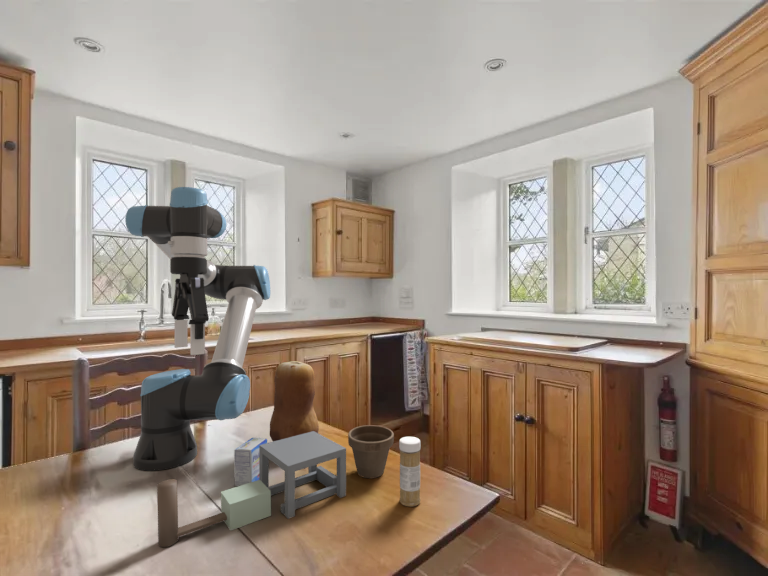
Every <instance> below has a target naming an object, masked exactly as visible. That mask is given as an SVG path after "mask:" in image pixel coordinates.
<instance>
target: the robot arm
mask: <svg viewBox="0 0 768 576" xmlns="http://www.w3.org/2000/svg"><path fill="white" fill-rule="evenodd" d="M207 195H208V194H207V192H206V191H204V190H203V189H201V188H197V187H190V186H179V187H178V186H177V187H174V188H173V189H172V190H171V191H170V198H169V199H170V200H169V205H148V204H145V205H136V206H131V207H129V208H128V209H127V211H126V215H125V226H126V228H127V229H126V230H127V231H128V233H130V234H131V235H133V236H135V237H142V238H144V237H148V239H149V240H151V241H152V242H153V243H154V244H155V246H157V247H158V248H159V250H160V251H162V252H163V253H164V254H165V256H167V257H168V259H170V260H169V262H170V265H169V267H170V269H169V271H170V273H171V274H172V275H179V278H175V281H174V282H175V287H174V294H173V295H174V296H173V304H172V312H171V316H172V317H173V319H174V348H187V347H188V344H189V343H188V326H189V325H190V327H189V329H190V331H189V333H190V335H189V336H190V339H189V340H190V341H189V342H190V344H189V345H190V351H189V352H190V356H196V355H197V356H198V355H205V354H206V348H205V347H206V345H205V344H206V341H205V340H206V322H209V320H210V319H209V312H208V305H207V300H206V299H207V298H206V296H209V297H211V298H213V299H216V300H226V301H227V303H228V305H227V308H226V310H225V311H226V312H225V315H224V318H223V321H222V325H221V328H220V332H219V335H218V339H217V342H216V345H215V347H214V353H213V355H212V359H211V361H210V362H208V363H207V364H205V365H204V367H203V368H202V372H201V374H200V375H198V374H197V375H192V372H191V370H190V369H189V368H180V369H179V368H178V369H172V370H166V371H162V372H158V373H154V374H151V375H148V376H147V377H145V378H144V379H143V380H142V382H141V388H140V395H139V396H140V429H141V430H140V436H139V438H138V442H137V444H136V448H135V450H134V452H133V457H132V459H133V460H132V462H133V463H132V466H133V467H134V468H135V469H137V470H140V471H147V472H148V471H151V472H152V471H162V470H169V469H173V468H177V467H178V466H182V465H184V464H187V463H188V462H191V461H192V460H194V459H195V458H196V457H197V455H198V445H197V442H196V439H195V436H194V433H193V430H192V428H191V421H198V420H199V421H207V420H209V421H210V420H211V421H212V420H213V421H217V420H218V421H224V420H233V419H234V420H235V419H237V418H238V417H240V416H241V415H243V413H244V411H245V409H246V407H247V405H248V401H249V397H250V390H251V379H250V377H249V376H248V375H247V372H246V370H245V369H244V368H243V366H244V362H245V357H246V353H247V349H248V344H249V340H250V336H251V332H252V327H253V324H254V318H255V315H256V310H258V309H259V308H261V307H262V304H263V301H266V300H267V301H268V300H269V299H270V298H271V280H270V276H269V271H268V269H267V267H266V266H264V265H256V264H253V265H225V264H223V265H220V264H219V265H218V264H214V263H213V262H212V261H211V260H209V259H206V258H205V257H207V256H208V239H216V238H219V237H221V236H222V235H223V234H224V233H225V232H226V230H227V220H226V217H225V216H224V215H223V214H222V213H221V212H220V211H219V210H218V209H216V208H213V207H211V206H210V205H208V204H209V201H208V196H207ZM188 312H189V314H188ZM189 315H190V317H189ZM190 318H191V319H190ZM189 319H190V320H189ZM188 320H189V321H188Z"/></svg>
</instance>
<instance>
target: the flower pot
mask: <svg viewBox="0 0 768 576" xmlns="http://www.w3.org/2000/svg"><path fill="white" fill-rule="evenodd" d="M347 439H348V440H347V441H348V442H347V443H348V446H349V447H350V448H351V449H352V455H353V458H354V459H353V460H354V464H355V468H356V471H357V474H358V476H360V477H362V478H365V479H377V478H379V477H381V476H382V475H383V474H384V471H385V468H386V465H387V461H388V456H389V454H390V453H389V452H390V448H391V447H392V446H393V445H394V440H395V433H394V432H393V430H391V428H389V427H386V426H381V425H373V424H371V425H369V424H367V425H360V426H356V427H354V428H352V429H350V430H349V432H348V434H347Z"/></svg>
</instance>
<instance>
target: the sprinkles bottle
mask: <svg viewBox="0 0 768 576" xmlns="http://www.w3.org/2000/svg"><path fill="white" fill-rule="evenodd" d="M398 445H399V447H398V448H399V489H400V490H399V502H400V504H401V505H403V506H405V507H409V508H410V507H416V506H418V505H420V503H421V459H420V458H421V453H420V452H421V447H422V446H421V439H419V438H418V437H415V436H403V437H401V438H400V439H399V443H398Z"/></svg>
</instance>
